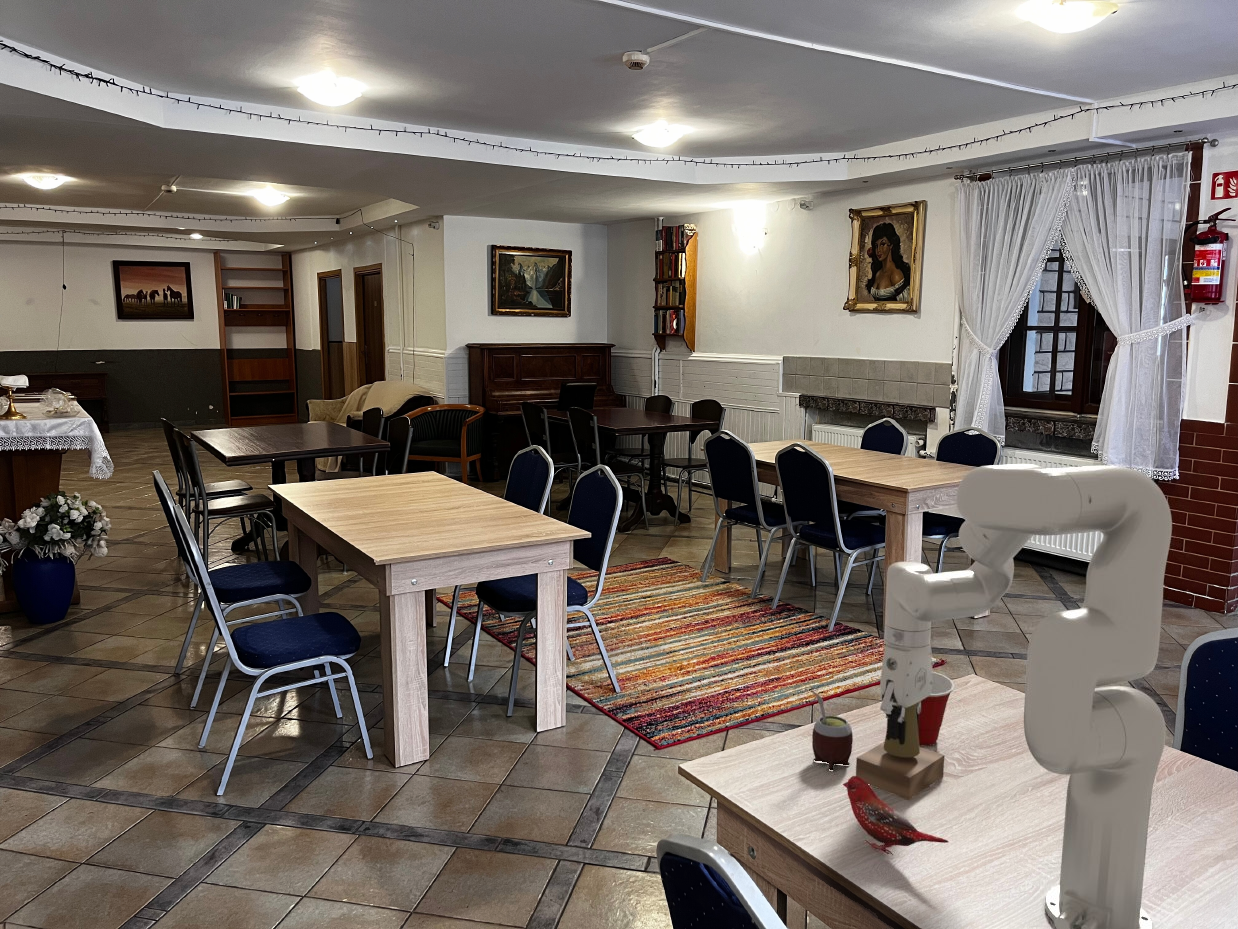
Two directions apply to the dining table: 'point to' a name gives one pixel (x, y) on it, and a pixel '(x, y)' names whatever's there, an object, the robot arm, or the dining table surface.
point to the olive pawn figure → (906, 735)
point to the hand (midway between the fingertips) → (902, 737)
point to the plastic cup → (934, 709)
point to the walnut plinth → (900, 771)
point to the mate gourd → (831, 738)
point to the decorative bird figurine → (882, 818)
